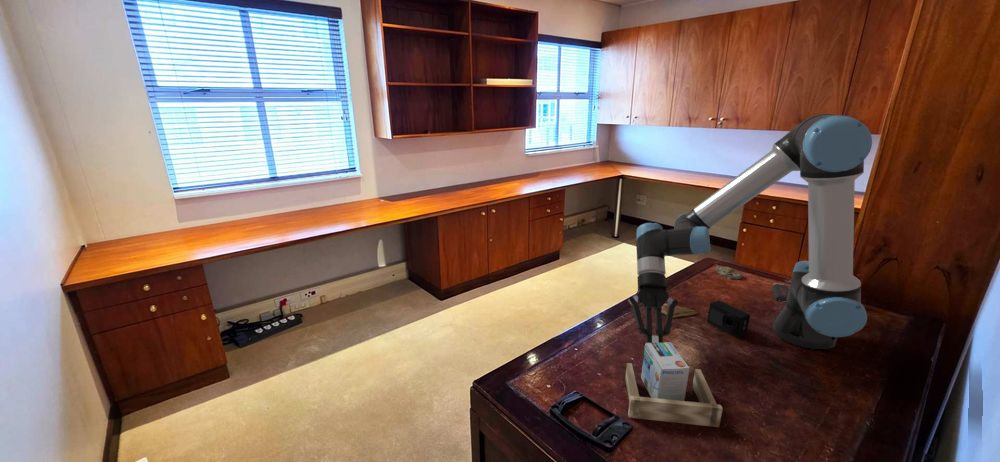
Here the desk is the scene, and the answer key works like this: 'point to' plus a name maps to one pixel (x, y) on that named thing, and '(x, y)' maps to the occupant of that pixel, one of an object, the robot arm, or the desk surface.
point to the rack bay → (674, 404)
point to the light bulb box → (664, 372)
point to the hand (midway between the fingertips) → (655, 362)
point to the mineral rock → (728, 272)
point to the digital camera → (728, 318)
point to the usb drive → (780, 292)
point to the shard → (678, 311)
